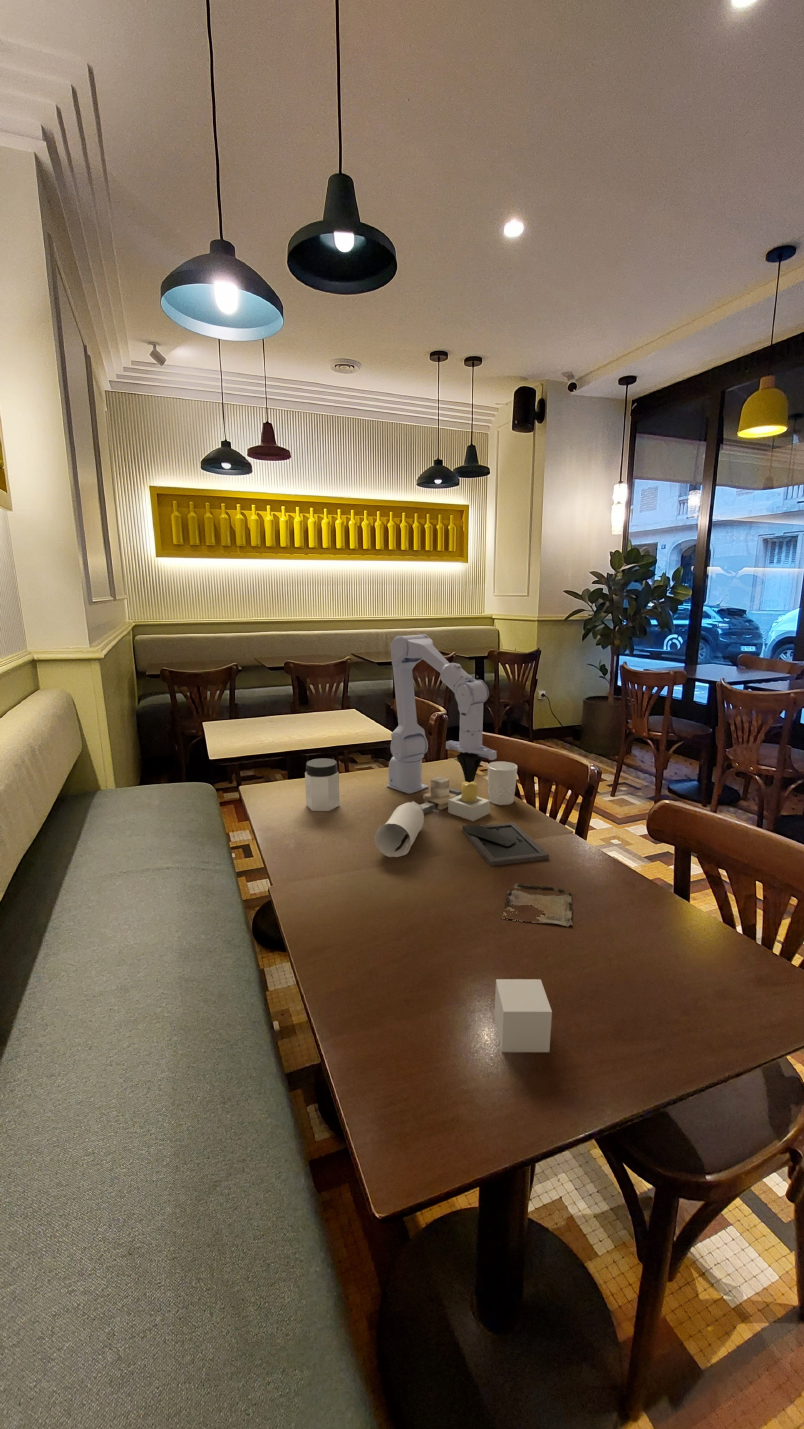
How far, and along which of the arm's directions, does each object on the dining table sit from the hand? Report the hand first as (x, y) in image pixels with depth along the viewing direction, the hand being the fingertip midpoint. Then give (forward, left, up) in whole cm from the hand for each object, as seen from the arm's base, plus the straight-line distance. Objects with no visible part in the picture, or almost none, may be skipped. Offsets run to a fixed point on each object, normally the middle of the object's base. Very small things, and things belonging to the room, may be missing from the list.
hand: (469, 781), depth 147 cm
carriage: (-9, -1, -9) cm, 12 cm away
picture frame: (+17, -9, -9) cm, 21 cm away
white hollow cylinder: (-1, -24, -9) cm, 26 cm away
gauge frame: (0, 0, -9) cm, 9 cm away
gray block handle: (-9, -4, -9) cm, 13 cm away
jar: (-31, -23, -9) cm, 40 cm away
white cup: (+1, +13, -9) cm, 16 cm away
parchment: (+36, -26, -9) cm, 45 cm away
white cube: (+51, -55, -9) cm, 76 cm away
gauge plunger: (0, 0, -5) cm, 5 cm away
